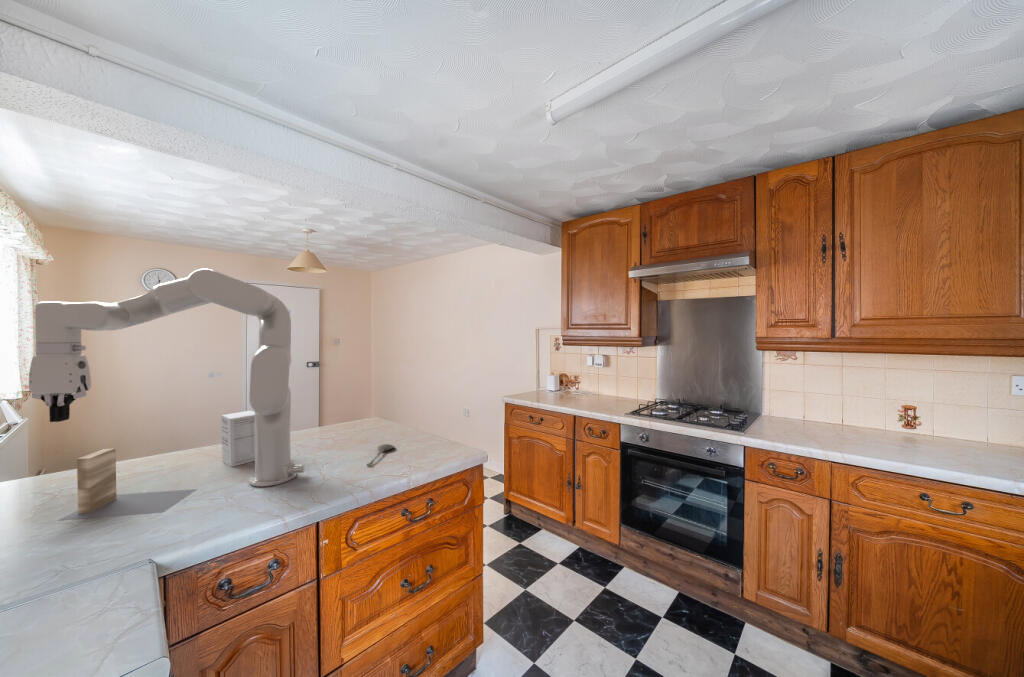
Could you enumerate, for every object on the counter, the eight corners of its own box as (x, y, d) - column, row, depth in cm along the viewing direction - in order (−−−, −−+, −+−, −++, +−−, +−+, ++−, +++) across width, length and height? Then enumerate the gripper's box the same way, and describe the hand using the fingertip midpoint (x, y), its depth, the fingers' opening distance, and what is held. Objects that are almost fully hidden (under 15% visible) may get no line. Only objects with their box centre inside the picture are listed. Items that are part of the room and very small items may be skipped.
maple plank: (116, 498, 103) (115, 448, 103) (90, 512, 95) (88, 458, 95) (104, 499, 102) (103, 448, 102) (77, 513, 95) (75, 458, 94)
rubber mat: (197, 490, 109) (197, 489, 109) (162, 514, 96) (162, 512, 96) (107, 496, 105) (107, 495, 105) (58, 522, 91) (58, 520, 91)
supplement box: (251, 454, 141) (251, 410, 140) (262, 459, 136) (261, 413, 135) (221, 461, 133) (220, 414, 133) (230, 467, 128) (229, 418, 127)
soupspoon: (397, 449, 151) (381, 450, 151) (397, 441, 151) (381, 441, 151) (378, 467, 129) (359, 468, 129) (377, 457, 129) (358, 458, 129)
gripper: (106, 349, 101) (106, 416, 102) (38, 348, 98) (39, 418, 99) (80, 350, 94) (81, 423, 94) (6, 350, 91) (7, 425, 91)
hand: (59, 420), depth 97 cm, fingers closed
